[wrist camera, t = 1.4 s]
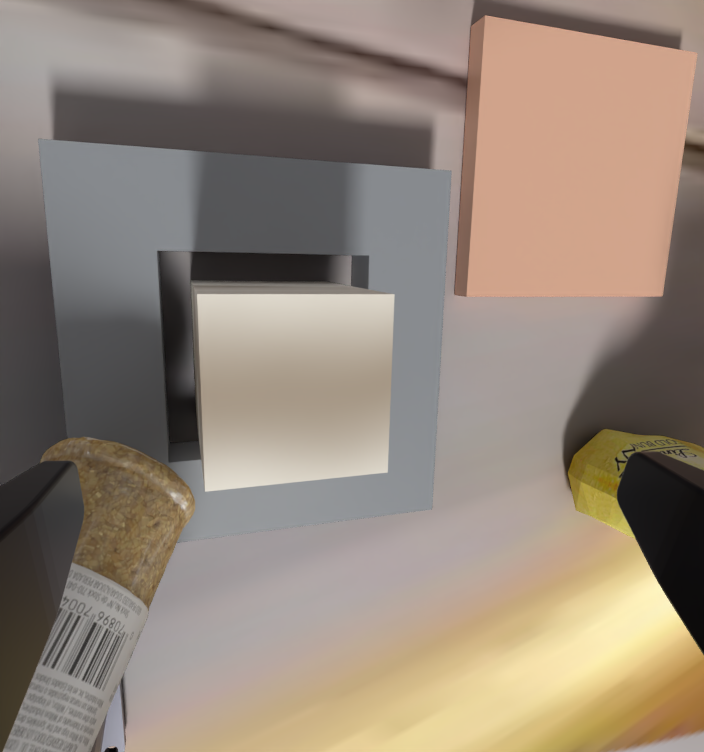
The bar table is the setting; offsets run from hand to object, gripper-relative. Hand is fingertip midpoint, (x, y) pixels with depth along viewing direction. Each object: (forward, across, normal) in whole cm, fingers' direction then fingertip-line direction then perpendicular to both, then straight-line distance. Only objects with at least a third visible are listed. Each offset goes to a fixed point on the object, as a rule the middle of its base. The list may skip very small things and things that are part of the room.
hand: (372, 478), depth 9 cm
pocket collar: (+12, +2, +3) cm, 13 cm away
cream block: (+12, +2, +3) cm, 13 cm away
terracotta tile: (+16, -11, -4) cm, 20 cm away
